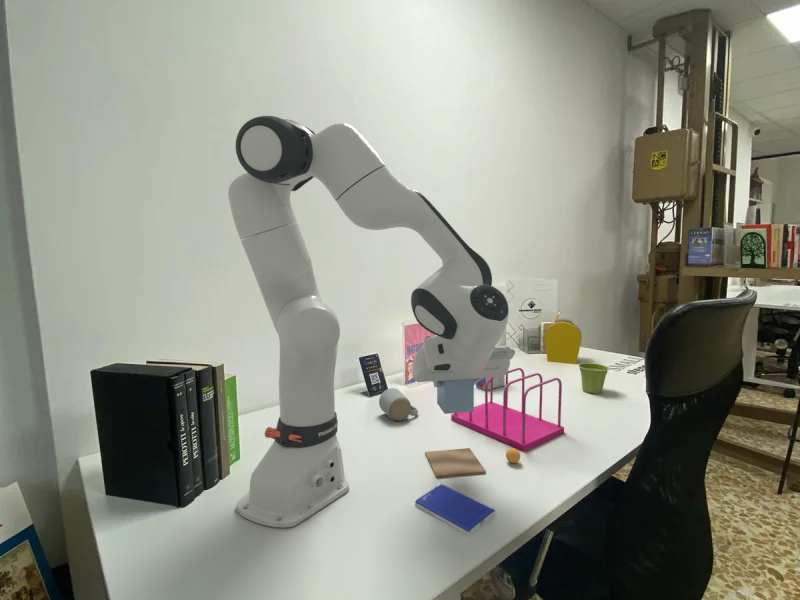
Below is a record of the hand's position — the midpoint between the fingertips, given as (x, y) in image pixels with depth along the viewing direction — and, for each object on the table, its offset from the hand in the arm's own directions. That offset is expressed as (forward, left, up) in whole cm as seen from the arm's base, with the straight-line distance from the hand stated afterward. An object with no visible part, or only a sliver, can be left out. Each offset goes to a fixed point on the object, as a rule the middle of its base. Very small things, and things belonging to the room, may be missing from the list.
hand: (454, 383), depth 94 cm
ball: (+5, -12, -17) cm, 22 cm away
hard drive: (-17, -6, -19) cm, 26 cm away
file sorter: (+25, -7, -19) cm, 32 cm away
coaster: (-1, 0, -18) cm, 19 cm away
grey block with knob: (-1, 0, -5) cm, 5 cm away
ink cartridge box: (+57, +6, -19) cm, 61 cm away
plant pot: (+66, -27, -19) cm, 74 cm away
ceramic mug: (+19, +23, -19) cm, 35 cm away
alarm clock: (+105, -14, -19) cm, 108 cm away
